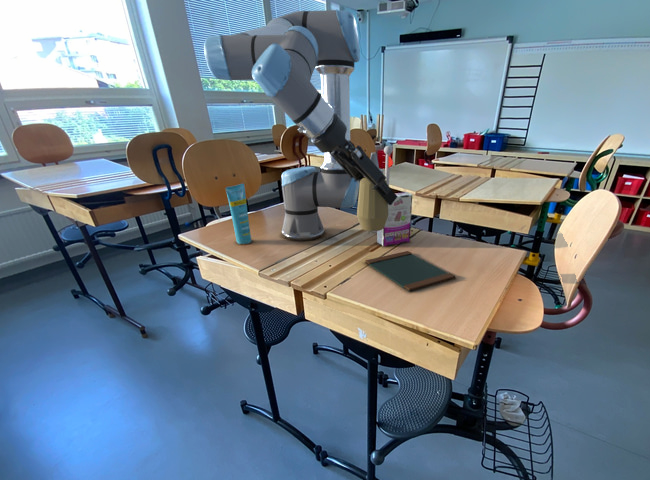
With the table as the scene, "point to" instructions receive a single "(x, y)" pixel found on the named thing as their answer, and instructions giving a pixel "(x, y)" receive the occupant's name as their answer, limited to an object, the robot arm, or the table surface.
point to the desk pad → (409, 271)
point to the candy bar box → (397, 222)
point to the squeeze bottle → (371, 204)
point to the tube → (239, 213)
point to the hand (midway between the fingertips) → (385, 197)
